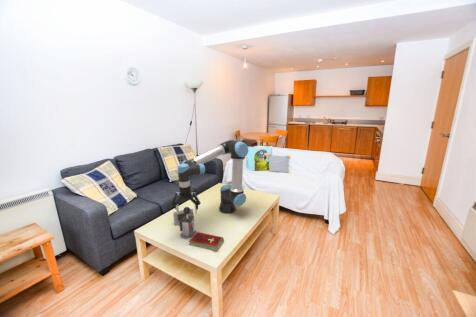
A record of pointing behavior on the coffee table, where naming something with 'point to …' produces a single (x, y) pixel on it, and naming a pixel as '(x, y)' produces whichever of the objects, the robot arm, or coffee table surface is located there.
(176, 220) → the digital clock
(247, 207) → the coffee table surface
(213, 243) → the hardcover book
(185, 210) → the ball knob lever
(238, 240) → the coffee table surface
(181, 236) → the trivet
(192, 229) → the grey blocky piece
